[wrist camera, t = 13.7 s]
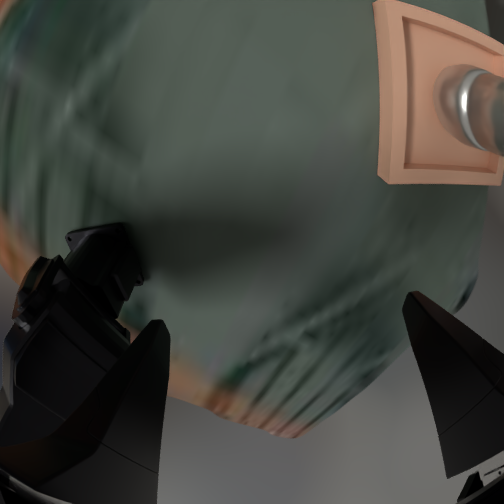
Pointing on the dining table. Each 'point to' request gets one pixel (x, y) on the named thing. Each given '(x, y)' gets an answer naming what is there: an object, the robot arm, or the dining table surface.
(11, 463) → the robot arm
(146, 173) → the dining table surface
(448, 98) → the plastic bottle
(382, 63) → the tray
